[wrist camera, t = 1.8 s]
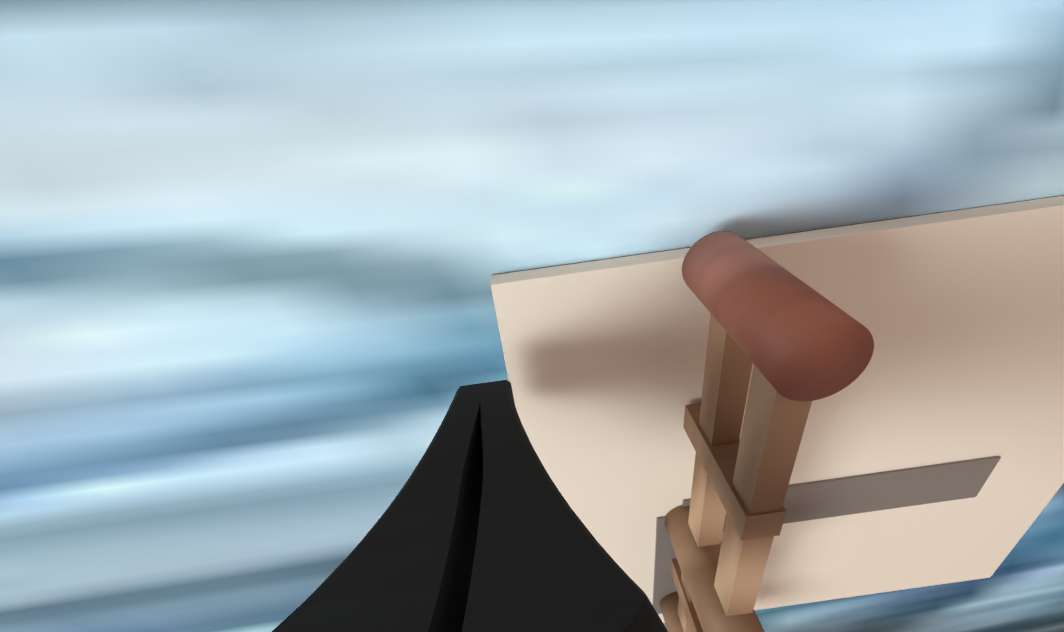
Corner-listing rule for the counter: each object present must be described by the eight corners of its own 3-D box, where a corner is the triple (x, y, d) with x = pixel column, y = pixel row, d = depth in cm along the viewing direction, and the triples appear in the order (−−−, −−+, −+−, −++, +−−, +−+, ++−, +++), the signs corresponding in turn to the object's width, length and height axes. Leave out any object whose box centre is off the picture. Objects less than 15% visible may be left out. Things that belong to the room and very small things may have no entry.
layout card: (978, 565, 22) (992, 579, 22) (555, 624, 22) (557, 639, 22) (1271, 166, 12) (1311, 172, 12) (491, 275, 12) (490, 286, 12)
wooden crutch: (713, 498, 17) (776, 627, 13) (666, 504, 17) (716, 635, 13) (754, 226, 11) (887, 313, 7) (684, 236, 11) (781, 327, 7)
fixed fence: (694, 605, 21) (742, 737, 17) (658, 610, 21) (697, 743, 17) (710, 500, 17) (778, 640, 13) (664, 506, 17) (718, 649, 13)
